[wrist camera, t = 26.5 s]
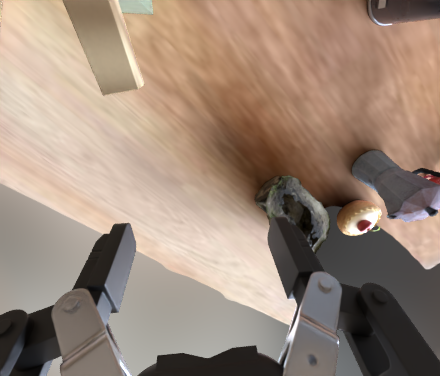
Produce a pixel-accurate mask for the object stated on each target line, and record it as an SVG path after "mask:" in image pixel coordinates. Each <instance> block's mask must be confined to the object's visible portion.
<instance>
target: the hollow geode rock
mask: <svg viewBox="0 0 440 376" xmlns="http://www.w3.org/2000/svg"><path fill="white" fill-rule="evenodd" d="M254 199H255V202H256V205H258V206H259V207H260V208H261V209H263V210H264V211H265V212H266V213H267V214H268V215H267V217H268V219H269V225H270V223H271V219H272V217H286V218H287V219H288V221H289V223H290V225H296V226H297V227H298V228H299V229H300V230H301V231H302V232H303V234H304V235H305V237H306V239H307V241H308V242H309V244H310V247H311V248H312V250H313V251H314V253H315V254H316V252H317V250H318V249H319V248H320V246H321V244H322V243H323V242H324V241H325V240H326V239H327V235H328V233H329V230H330V217H329V214H328V212H327V211H326V210H325V209H324V207H323V206H322V203H321V202H319V201H317V200H315V199H314V198H313V196H312V195H311V194H310V193H309V191H307V190H306V189H304V188H303V187H302V186H301V182H300V180H299V179H297V178H294V177H291V176H281V177H280V176H276V177H274V178H272V179H271V180H269V181H267V182H266V183H265V184H264V185H263V186H262V188H261V189H260V190H259V192H258V193H257V194H256V195H255V198H254Z"/></svg>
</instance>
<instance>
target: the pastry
mask: <svg viewBox="0 0 440 376" xmlns="http://www.w3.org/2000/svg"><path fill="white" fill-rule="evenodd" d="M379 218H381V210H380V208H379V207H378V206H376V205H375V204H373V203H371V202H368V201H364V200H356V201H353V202H350V203H348V204H347V205H345V206H344V207H343V208H342V209H341V210H340V211H339V213H338V215H337V224H338V227H339V229H340V230H341V231H342V232H343V233H344V234H346V235H354V236H356V235H361V234H362V233H366V232H367V231H371V229H372V227H375V226H376V223H378V222H379ZM378 230H380V226H379V229H378ZM378 230H377V231H378ZM375 231H376V230H375Z"/></svg>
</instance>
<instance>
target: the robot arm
mask: <svg viewBox="0 0 440 376" xmlns="http://www.w3.org/2000/svg"><path fill="white" fill-rule="evenodd" d="M367 8H368V14H369V16H370V18H371V20H372V21H373V22H374V23H375V24H377V25H381V26H385V25H391V24H396V23H405V22H414V21H422V20H430V19H438V18H440V0H368V1H367ZM268 245H269V248H270V251H271V253H272V256H273V259H274V262H275V265H276V267H277V270H278V273H279V276H280V279H281V281H282V284H283V287H284V290H285V293H286V295H287V298H288V299H295V300H296V303H297V306H296V309H295V312H294V315H293V318H292V322H291V325H290V328H289V331H288V334H287V338H286V341H285V343H284V346H283V349H282V351H281V354H280V357H279V360H278V362H277V361H275V360H274V359H272V358H270V357H269V356H266V355H264V354H261V353H258V352H257V348H256V346H246V347H236V348H231V349H229V350H227V351H225V352H222V353H220V354H218V355H216V356H213V357H211V358H203V357H198V356H194V355H189V354H185V353H178V354H168V355H158V356H157V363H156V364H154V365H152V366H150V367H148V368H147V369H145V370H144V371H142V372H141V373H140V374H139V375H138V376H335V373H336V365H337V358H338V350H339V336H338V335H337V334H336V331H337V330H341V331H343V332H344V334H345V336H346V339H347V341H348V343H349V345H350V347H351V350H352V352H353V354H354V356H355V358H356V361H357V363H358V365H359V367H360V369H361V372H362V374H363V376H440V361H439V360H438V358H437V357H436V355H435V354H434V353H433V351H432V350H431V348H430V347H429V346H428V344H427V343H426V341H425V340H424V339H423V337H422V336H421V334H420V333H419V332H418V330H417V329H416V327H415V326H414V324H413V323H412V322H411V320H410V319H409V317H408V316H407V315H406V313H405V312H404V311H403V309H402V308H401V306H400V305H399V304H398V302H397V301H396V299H395V298H394V297H393V295H392V294H391V293H390V292H389V291H388V290H386V289H385V288H383V287H381V286H380V285H377V284H374V283H366V284H364V285H363V286H362V287H361V288H357V287H353V286H348V285H344V284H341V283H339V282H338V281H337V280H336V279H335V278H334V277H333V276H331V275H330V274H328V273H326V272H325V271H324V269H323V268H322V266H321V264H320V262H319V260H318V259H317V257H316V255H315V253H314V251H313V250H312V248H311V247H310V244H309V242H308V241H307V239H306V237H305V235H304V234H303V232H302V231H301V230H300V229H299V228H298V227H297V226H296V225H290V223H289V221H288V219H287V218H286V217H272V219H271V223H270V228H269V232H268ZM135 252H136V241H135V238H134V234H133V231H132V228H131V225H130V223H121V224H114V225H113V227H112V229H111V231H110V234H103V235H102V236H101V237H100V238H99V239H98V240H97V241H96V243H95V245H94V247H93V249H92V252H91V253H90V255H89V257H88V260H87V261H86V263H85V265H84V267H83V269H82V271H81V273H80V276H79V277H78V279H77V281H76V283H75V285H74V287H73V289H72V291H70V292H68V293H66V294H64V295H63V296H62V297H61V298H60V299H59V300H58V301H57V302H56V303H55V305H52V306H50V307H47V308H44V309H42V310H39V311H36V312H33V313H31V314H27V313H26V312H24V311H23V310H12V311H9V312H6V313H4V314H2V315H0V376H47V373H48V370H49V368H50V365H51V363H52V360H53V359H55V358H58V357H60V356H62V359H63V363H62V364H61V365H60V373H61V376H132V374H131V372H130V370H129V368H128V366H127V364H126V362H125V360H124V358H123V356H122V354H121V351H120V349H119V347H118V345H117V342H116V340H115V338H114V335H113V333H112V331H111V329H110V326H109V324H108V319H109V316H110V313H117V312H119V308H120V305H121V302H122V298H123V294H124V291H125V288H126V284H127V280H128V277H129V273H130V270H131V266H132V263H133V259H134V256H135Z"/></svg>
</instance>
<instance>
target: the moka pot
mask: <svg viewBox="0 0 440 376" xmlns="http://www.w3.org/2000/svg"><path fill="white" fill-rule="evenodd" d="M419 173H425V174H431V175H433V176H436V177H440V173H439V172H434V171H432V170H428V169H425V168H420V169H417V170H414V171H412V172H410V171H405V170H403V169H401V168H400V167H399V166H398V165H397V164H396V163H394V162H393V161H392V160H391V159H390V158H389V157H388V156H387V155H385V154H384V153H383V152H382V151H379V150H372V151H368V152H366V153H364V154H363V155H361V156H360V157H359V158H358V159H357V160H356V161H355V163H354V164H353V167H352V175H353V176H354V177H356V178H357V179H358V180H360V181H361V182H363V183H365V184H366V185H368V186H369V187H371V188H372V189H374V190H376V192H378V194H379V195H380V197H381V198H382V199H383V200H384V202H385V206H386V209H387V212H388V215H387V218H389V219H400V218H401V219H402V220H403V221H405V222H411V221H417V220H422V219H424V218H426V217H428V216H435V215H436V214H437V213H438V209H440V185H439V184H437V183H435V182H432V181H430V180H428V179H426V178H423V177H421V176H419V175H417V174H419Z"/></svg>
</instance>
